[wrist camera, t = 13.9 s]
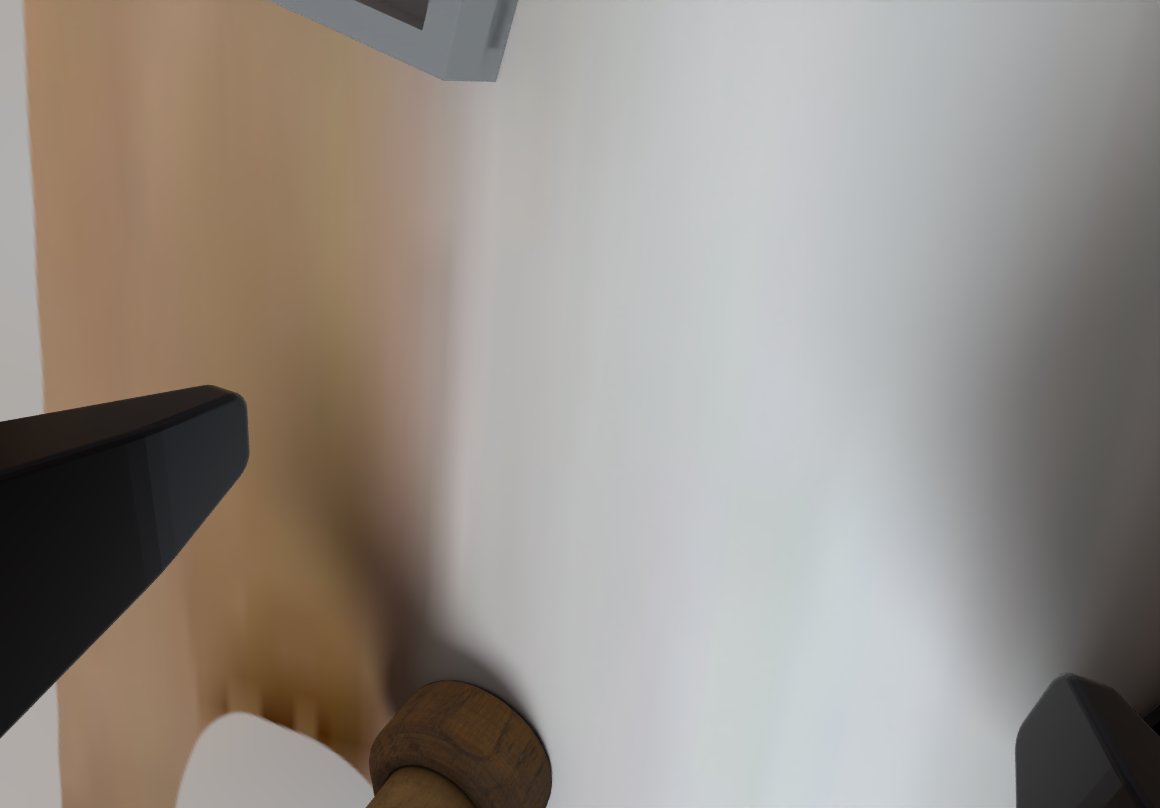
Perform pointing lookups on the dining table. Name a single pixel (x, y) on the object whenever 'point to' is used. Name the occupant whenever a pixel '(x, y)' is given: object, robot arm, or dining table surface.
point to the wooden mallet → (458, 754)
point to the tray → (423, 31)
